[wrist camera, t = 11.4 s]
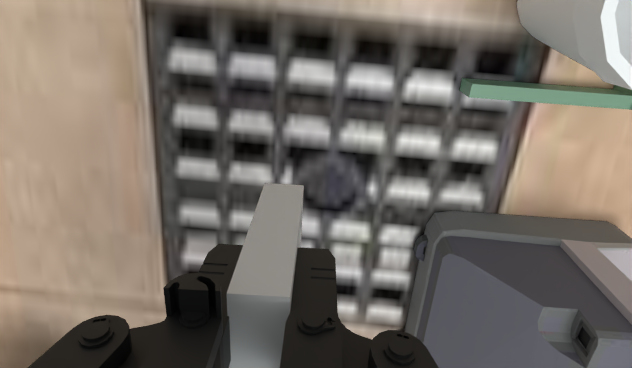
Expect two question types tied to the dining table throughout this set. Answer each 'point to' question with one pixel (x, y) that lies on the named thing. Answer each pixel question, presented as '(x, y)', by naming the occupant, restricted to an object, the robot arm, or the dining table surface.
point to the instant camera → (522, 292)
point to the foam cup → (585, 33)
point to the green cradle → (548, 93)
